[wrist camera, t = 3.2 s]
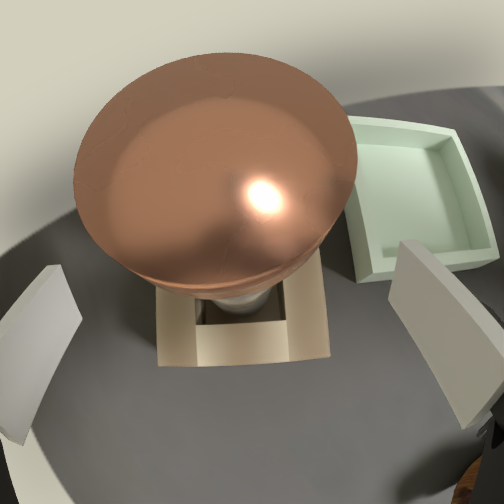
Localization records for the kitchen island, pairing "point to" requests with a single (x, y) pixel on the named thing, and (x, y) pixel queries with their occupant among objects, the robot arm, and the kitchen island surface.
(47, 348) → the robot arm
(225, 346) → the block
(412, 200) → the tray
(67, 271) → the kitchen island surface
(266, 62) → the pin
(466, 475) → the wooden carving
